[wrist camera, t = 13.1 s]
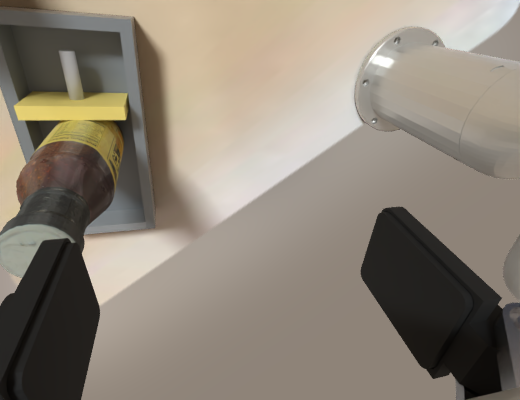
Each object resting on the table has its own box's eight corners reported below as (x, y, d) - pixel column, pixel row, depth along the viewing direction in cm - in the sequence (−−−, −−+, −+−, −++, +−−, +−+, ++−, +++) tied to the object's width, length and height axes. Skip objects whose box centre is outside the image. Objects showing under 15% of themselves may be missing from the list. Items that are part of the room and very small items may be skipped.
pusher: (122, 49, 30) (116, 58, 26) (129, 104, 32) (125, 120, 29) (18, 44, 27) (-5, 52, 24) (36, 104, 30) (18, 120, 26)
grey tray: (133, 16, 30) (131, 19, 26) (155, 209, 41) (155, 228, 38) (-5, 5, 27) (-27, 7, 23) (60, 217, 38) (51, 237, 35)
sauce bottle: (109, 170, 36) (70, 313, 20) (49, 142, 32) (-56, 286, 16) (137, 123, 34) (120, 240, 18) (76, 89, 31) (-12, 194, 15)
